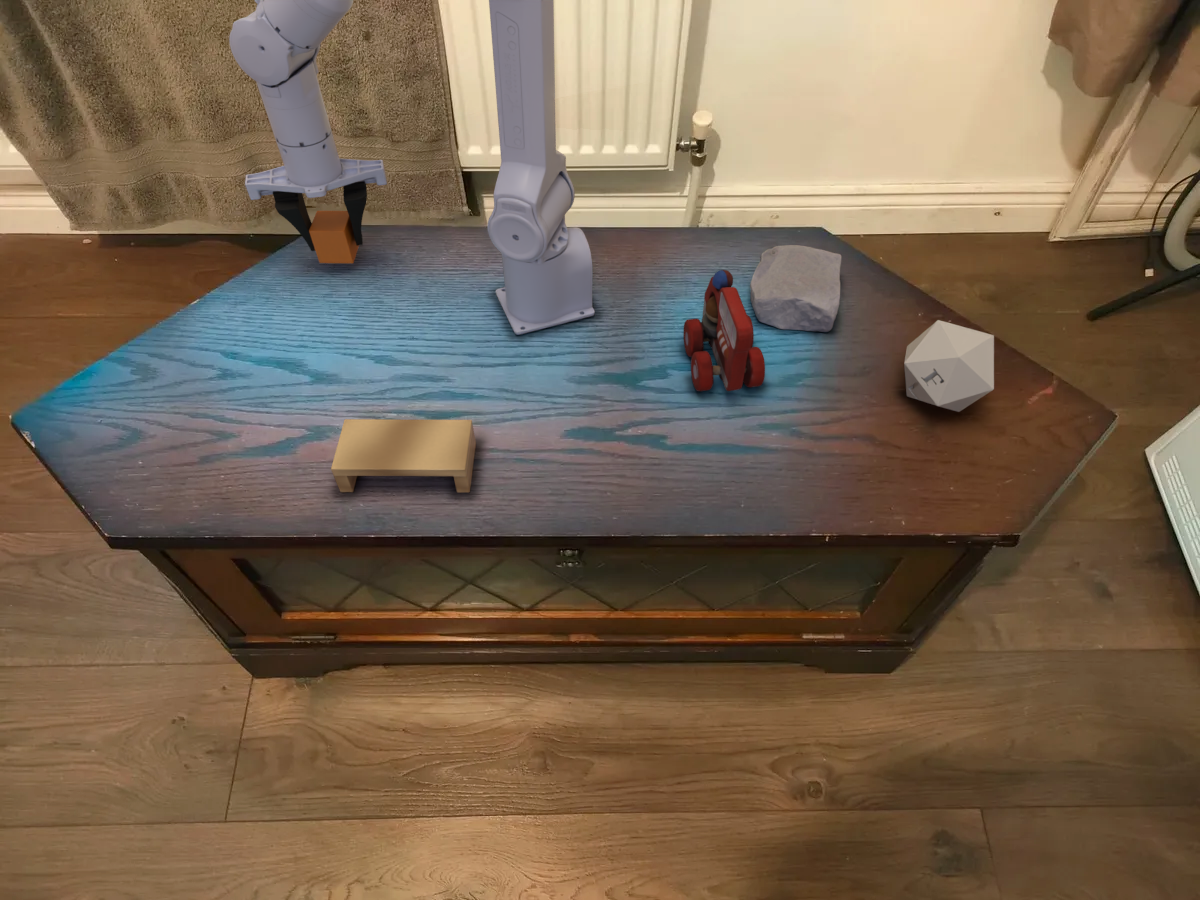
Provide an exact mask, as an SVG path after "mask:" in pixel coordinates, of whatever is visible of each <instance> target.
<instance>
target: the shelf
mask: <svg viewBox="0 0 1200 900" xmlns="http://www.w3.org/2000/svg"><path fill="white" fill-rule="evenodd" d="M475 435H476V434H475V430H474V423H473V420H472V419H402V418H401V419H400V418H399V419H398V418H397V419H395V418H393V419H392V418H391V419H385V418H384V419H383V418H382V419H379V418H378V419H377V418H376V419H371V418H370V419H369V418H368V419H367V418H365V419H364V418H345V419H344V420H343V424H342V427H341V431H340V434H339V438H338V442H337V446H336V448H335V453H334V457H333V460H332V463H331V467H330V470H331V473H332V475H333V477H334V480H335V482H336V485H337V487H338V490H339V492H340V493H354V490H355V486H356V482H357V478H358V477H365V476H366V477H453V480H454V485H455V490H456V493H470V492H471V486H472V478H473V470H474V462H475V454H476V446H477V443H476V442H477V441H476V436H475Z"/></svg>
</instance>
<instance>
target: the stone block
mask: <svg viewBox="0 0 1200 900" xmlns="http://www.w3.org/2000/svg"><path fill="white" fill-rule="evenodd" d="M841 266H842V255H841V254H840V253H836V252H835V253H834V252H832V251H829V250H825V249H821V248H816V247H813V246H804V245H797V244H788V245H787V244H786V245H775V246H773V247H772V248H768V249H765V251H763V252H762V253H761V255H760V260H759V263H758V264H757V265H756V267H755V269H754V271H753V275H752V278H751V280H750V284H749V288H750V302H751V307H752V309H753V311H754V315H755V317H756V319H757V320H758V321H759V322H760V323H763V324H766V325H769V326H771V327H774V328H777V329H779V330H791V331H792V330H794V331H797V330H798V331H806V332H821V333H825V332H826V333H828V332H830V331H831V330H832V329H833V327H834V324H835V320H836V318H837V314H838V313H839V312H838V310H839V306H840V300H841V299H840V298H841V280H840V275H841Z"/></svg>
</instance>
